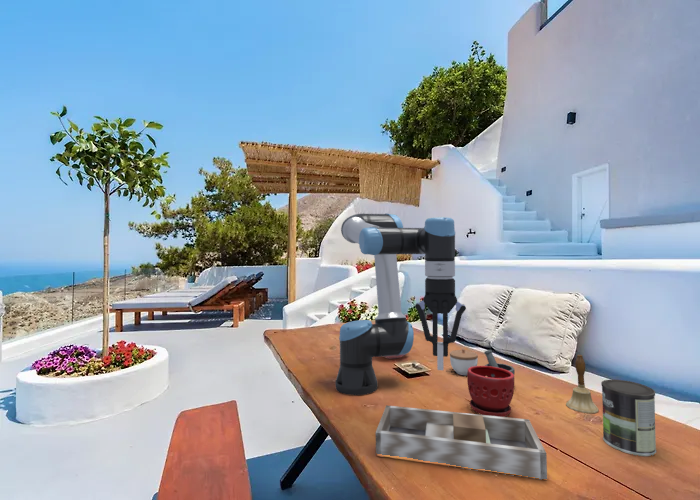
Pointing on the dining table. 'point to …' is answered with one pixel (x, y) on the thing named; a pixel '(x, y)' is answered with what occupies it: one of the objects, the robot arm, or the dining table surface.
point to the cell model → (393, 356)
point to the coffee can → (629, 417)
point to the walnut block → (469, 428)
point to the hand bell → (581, 392)
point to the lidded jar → (463, 360)
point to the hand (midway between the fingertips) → (440, 368)
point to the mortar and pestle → (493, 363)
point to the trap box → (461, 441)
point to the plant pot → (490, 390)
